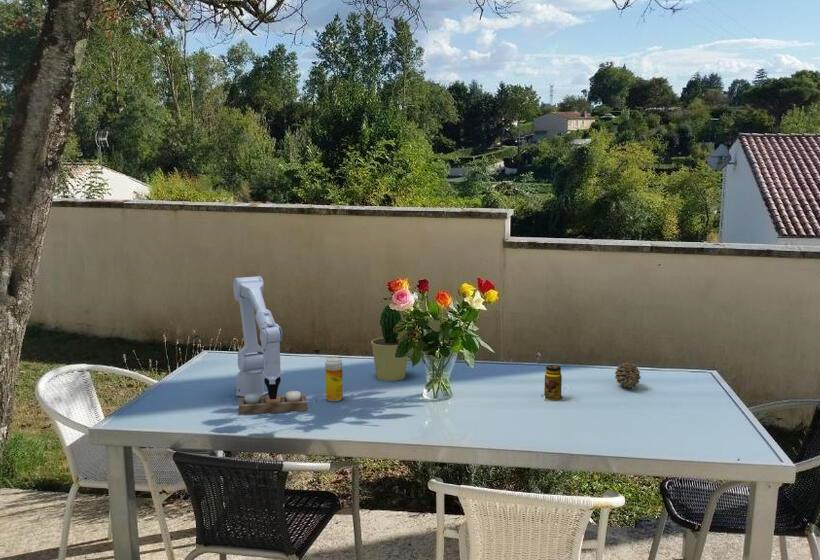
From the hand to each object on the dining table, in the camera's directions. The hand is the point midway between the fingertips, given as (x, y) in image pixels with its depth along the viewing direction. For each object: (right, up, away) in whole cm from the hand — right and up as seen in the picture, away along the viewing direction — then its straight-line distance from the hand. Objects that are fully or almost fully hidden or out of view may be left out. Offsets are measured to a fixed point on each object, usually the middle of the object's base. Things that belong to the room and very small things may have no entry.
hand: (273, 398), depth 265 cm
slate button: (-7, -1, -1) cm, 7 cm away
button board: (0, -3, +1) cm, 3 cm away
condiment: (+100, -2, +12) cm, 101 cm away
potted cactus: (+40, +2, +40) cm, 56 cm away
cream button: (+7, -1, +1) cm, 7 cm away
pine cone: (+131, +1, +28) cm, 134 cm away
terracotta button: (0, -3, 0) cm, 3 cm away
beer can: (+20, -2, +11) cm, 23 cm away
